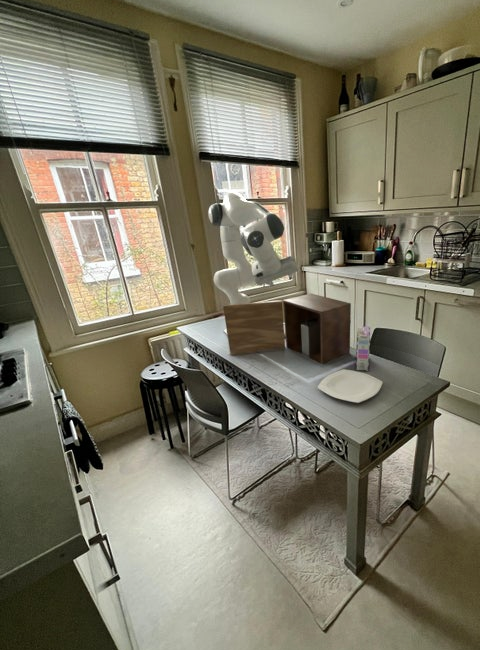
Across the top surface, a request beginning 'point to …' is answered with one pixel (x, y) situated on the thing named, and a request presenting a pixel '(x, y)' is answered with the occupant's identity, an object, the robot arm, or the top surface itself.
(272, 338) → the cupboard door
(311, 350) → the grey box with handle
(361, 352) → the candy box
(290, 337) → the cupboard
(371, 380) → the plate
